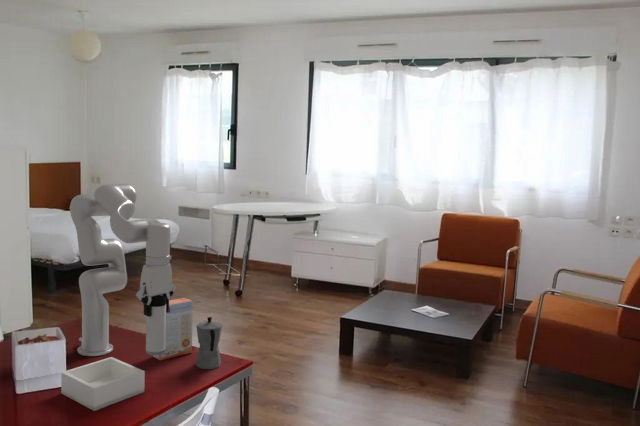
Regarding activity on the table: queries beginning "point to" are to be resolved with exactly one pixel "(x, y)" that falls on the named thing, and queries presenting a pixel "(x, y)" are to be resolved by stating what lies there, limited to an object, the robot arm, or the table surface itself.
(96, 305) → the robot arm
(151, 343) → the travel mug
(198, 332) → the coffeepot
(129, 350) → the table surface
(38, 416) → the table surface
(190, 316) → the cracker box
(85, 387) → the bin
